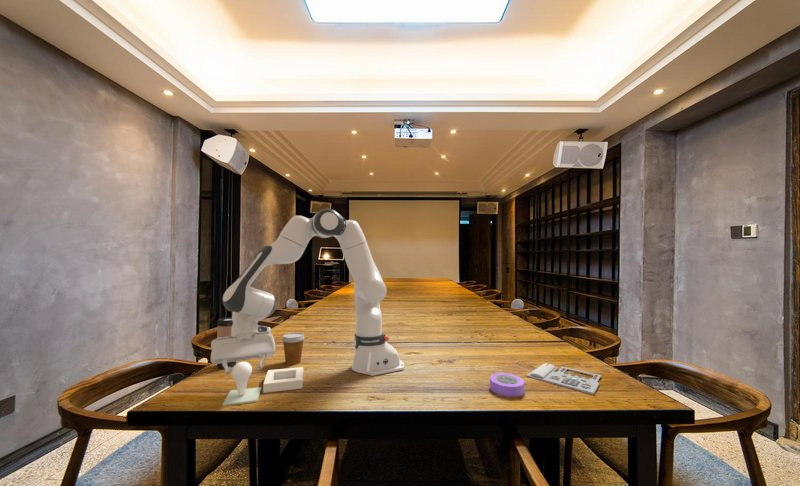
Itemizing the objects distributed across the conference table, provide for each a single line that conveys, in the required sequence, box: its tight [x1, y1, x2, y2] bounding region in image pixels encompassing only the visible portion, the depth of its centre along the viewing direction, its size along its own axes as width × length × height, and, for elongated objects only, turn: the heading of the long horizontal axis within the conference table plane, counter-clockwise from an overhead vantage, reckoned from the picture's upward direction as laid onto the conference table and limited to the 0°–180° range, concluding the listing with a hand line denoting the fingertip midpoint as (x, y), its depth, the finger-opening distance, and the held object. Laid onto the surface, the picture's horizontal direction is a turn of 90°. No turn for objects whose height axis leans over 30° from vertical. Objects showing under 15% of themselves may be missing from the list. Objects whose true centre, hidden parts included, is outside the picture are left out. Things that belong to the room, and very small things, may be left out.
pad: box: [222, 386, 263, 407], centre depth 104 cm, size 10×10×1 cm
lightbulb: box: [231, 361, 253, 395], centre depth 104 cm, size 6×6×11 cm
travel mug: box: [216, 316, 237, 370], centre depth 132 cm, size 8×8×20 cm
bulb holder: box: [262, 366, 304, 394], centre depth 115 cm, size 13×13×3 cm
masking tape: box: [489, 372, 525, 398], centre depth 111 cm, size 12×12×4 cm
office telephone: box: [526, 362, 603, 396], centre depth 122 cm, size 23×3×20 cm
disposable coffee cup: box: [281, 332, 306, 366], centre depth 137 cm, size 10×10×12 cm
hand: (244, 370), depth 104 cm, fingers open, 8 cm apart
